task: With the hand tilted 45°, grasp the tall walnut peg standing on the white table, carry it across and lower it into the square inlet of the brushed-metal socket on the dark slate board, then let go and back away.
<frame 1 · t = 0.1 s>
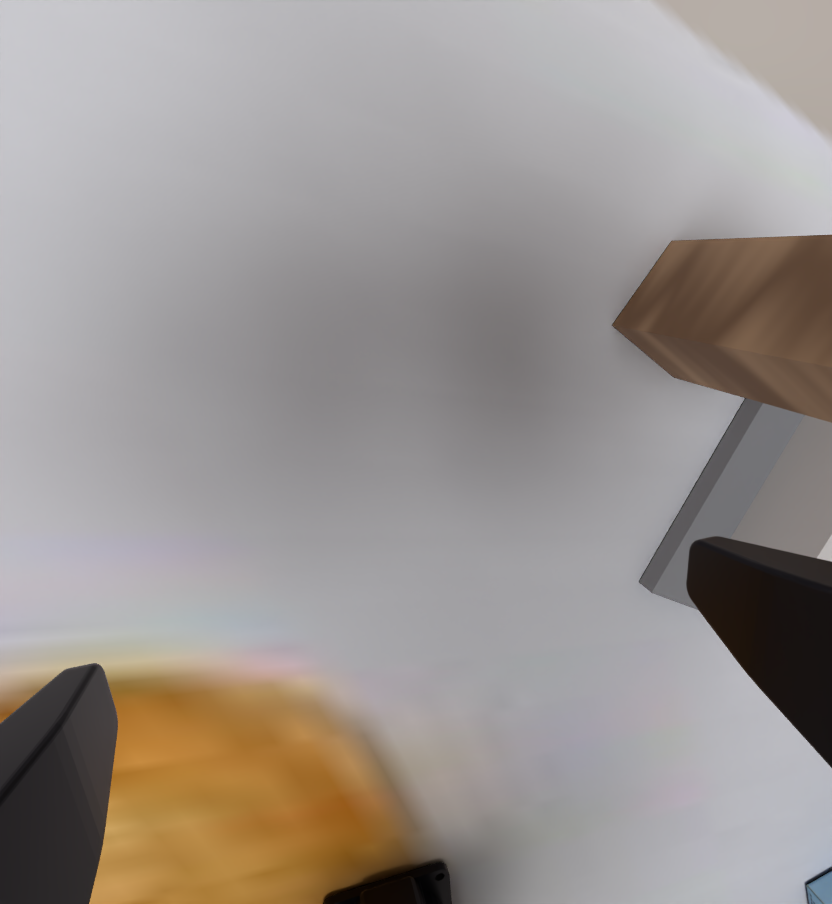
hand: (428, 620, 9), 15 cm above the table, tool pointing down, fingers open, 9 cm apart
walnut peg: (672, 311, 25), on the table
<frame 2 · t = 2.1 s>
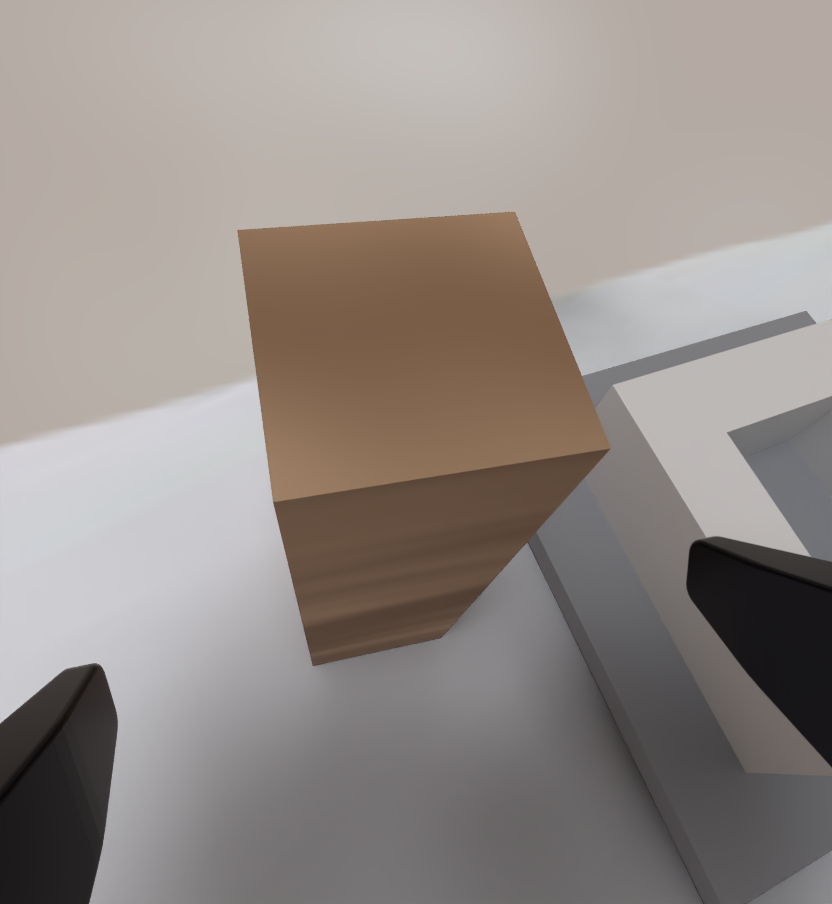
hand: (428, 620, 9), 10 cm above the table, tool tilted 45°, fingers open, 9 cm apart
socket board: (758, 546, 21), on the table
walnut peg: (366, 587, 19), on the table
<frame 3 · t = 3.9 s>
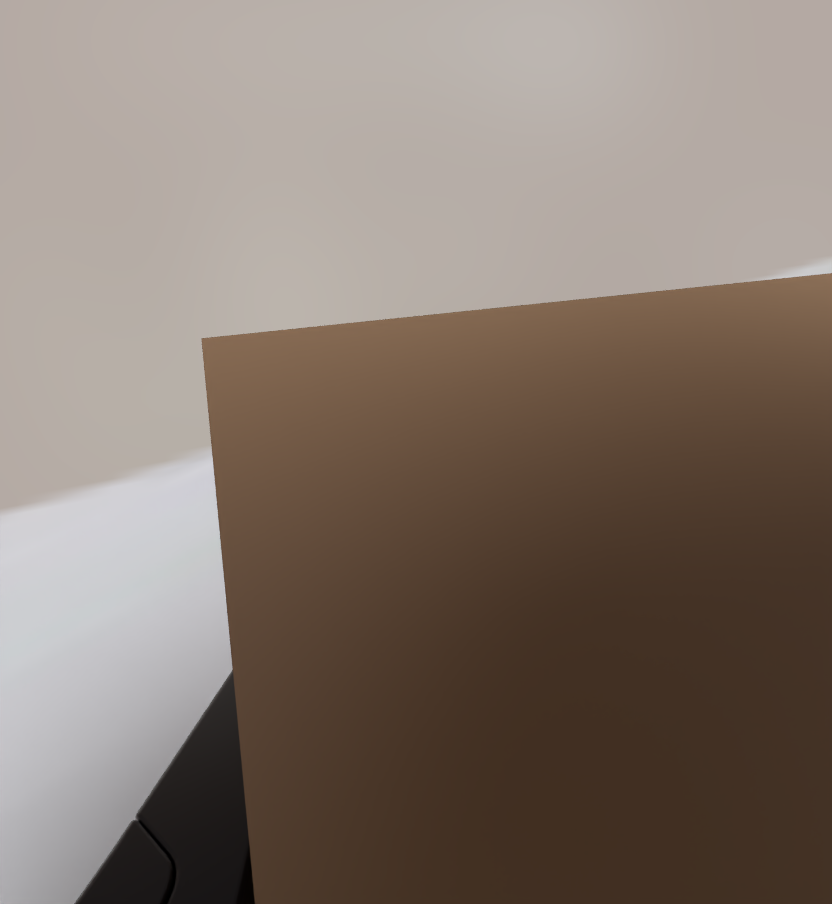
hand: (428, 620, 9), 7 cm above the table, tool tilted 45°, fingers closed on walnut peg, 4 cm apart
walnut peg: (402, 733, 14), on the table, touching gripper
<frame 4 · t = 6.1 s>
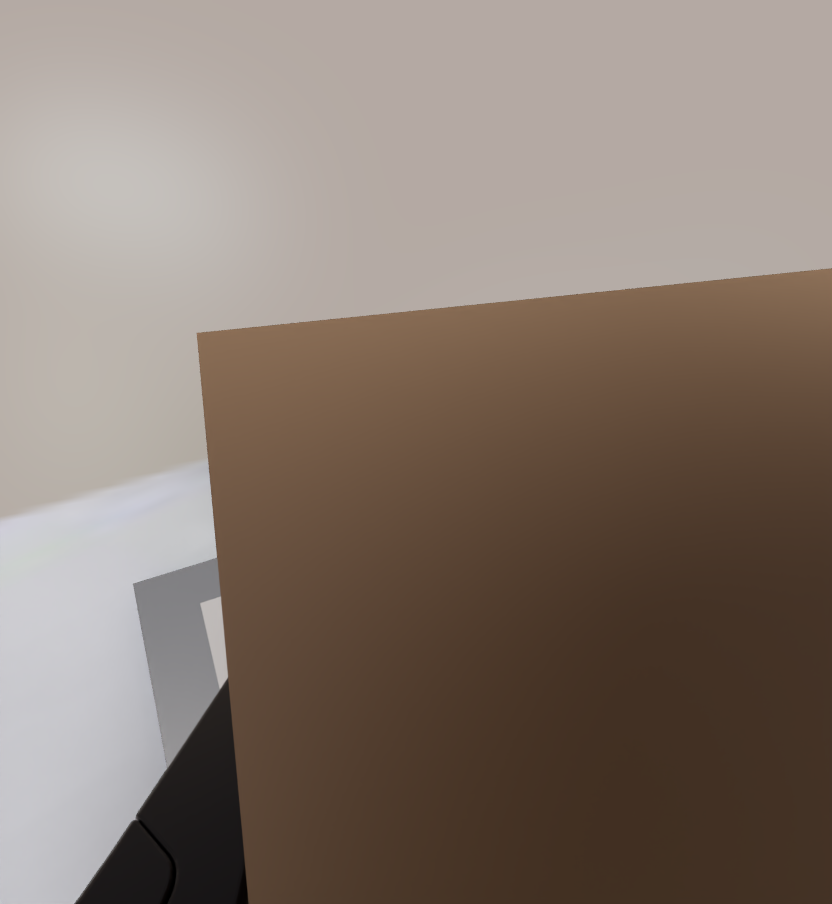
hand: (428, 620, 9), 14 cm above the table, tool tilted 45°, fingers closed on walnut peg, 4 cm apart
socket board: (425, 733, 21), on the table
walnut peg: (401, 731, 14), point 7 cm above the table, touching gripper
when the fingers open (8 cm above the table, at t = 8.4 s): walnut peg stays where it is, resting on socket board.
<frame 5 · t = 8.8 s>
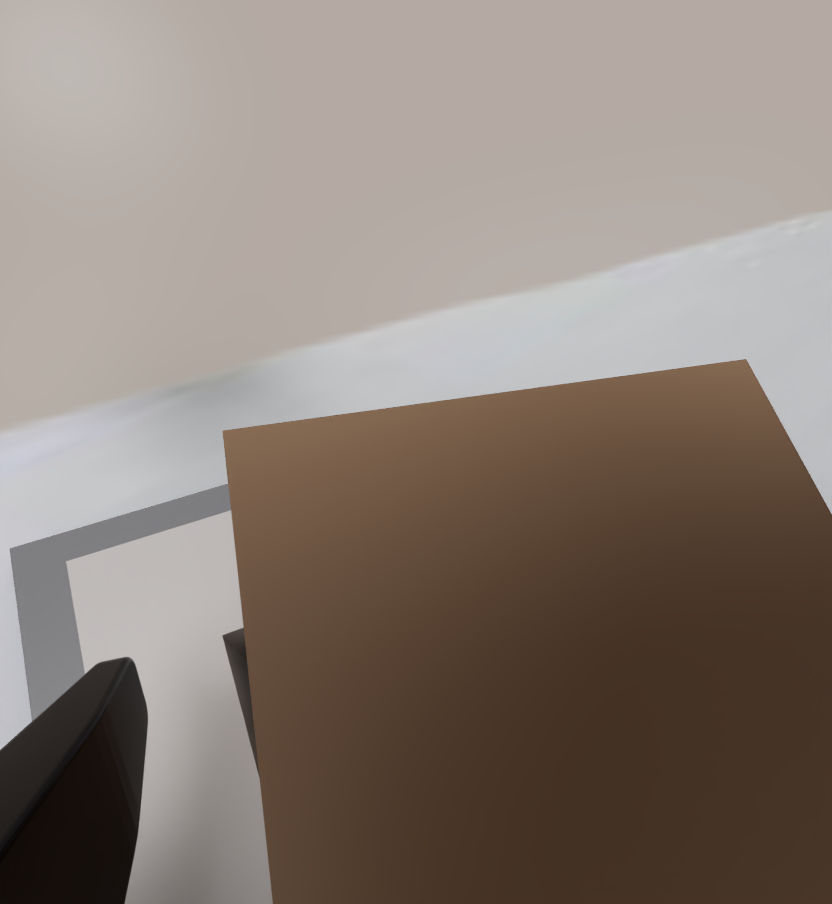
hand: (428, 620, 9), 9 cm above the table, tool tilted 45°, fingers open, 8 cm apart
socket board: (394, 734, 16), on the table
walnut peg: (396, 733, 15), point 1 cm above the table, touching socket board
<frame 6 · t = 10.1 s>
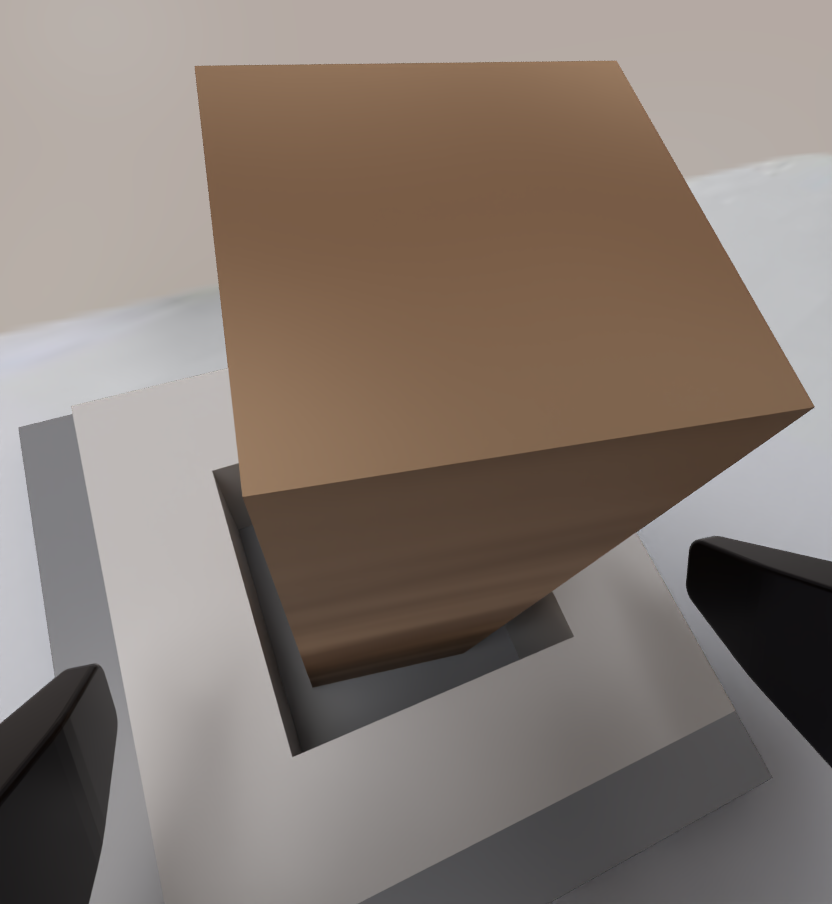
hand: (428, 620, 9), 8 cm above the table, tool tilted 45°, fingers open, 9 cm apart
socket board: (374, 601, 17), on the table
walnut peg: (375, 594, 16), point 1 cm above the table, touching socket board
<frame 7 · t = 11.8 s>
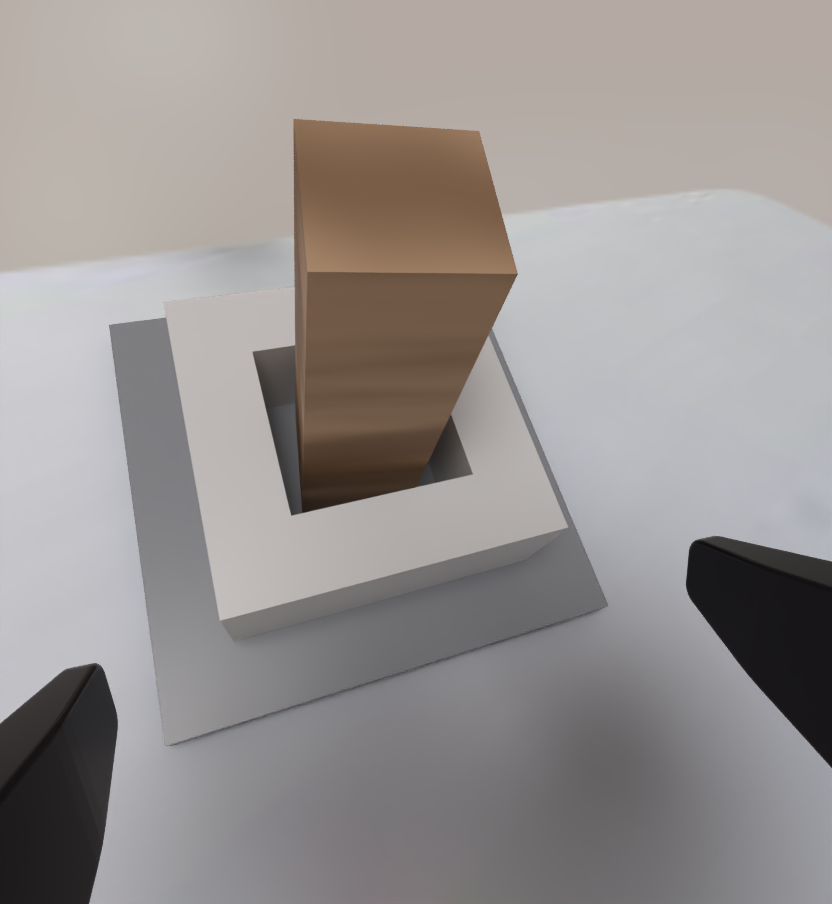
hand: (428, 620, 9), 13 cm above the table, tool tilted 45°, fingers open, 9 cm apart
socket board: (349, 471, 24), on the table
walnut peg: (350, 461, 23), point 1 cm above the table, touching socket board
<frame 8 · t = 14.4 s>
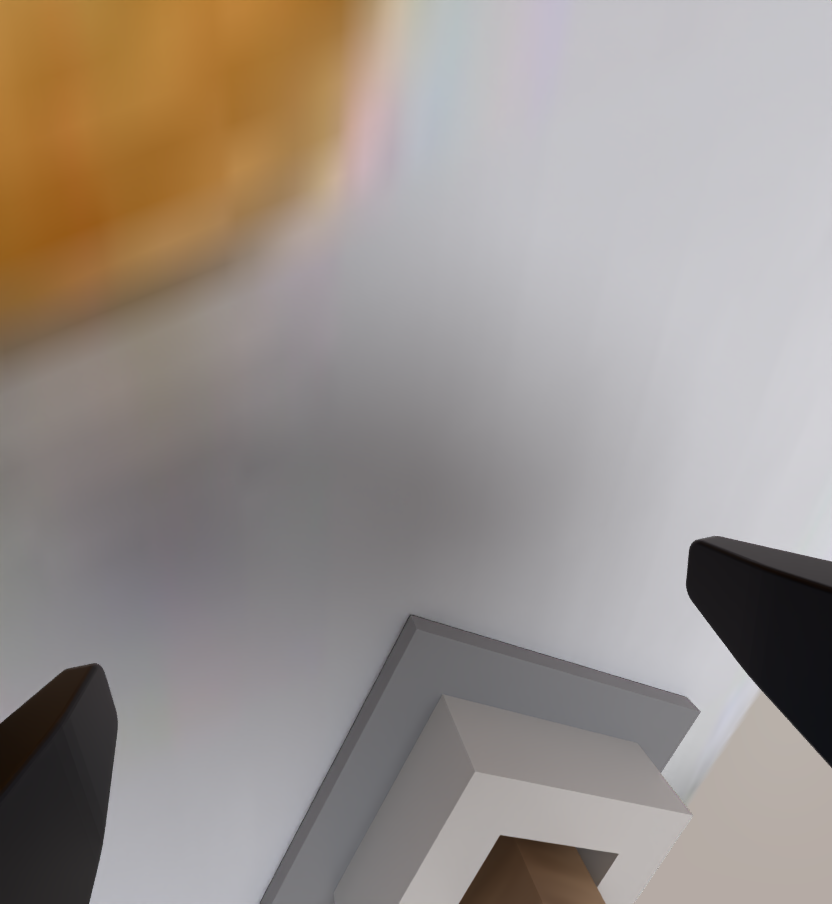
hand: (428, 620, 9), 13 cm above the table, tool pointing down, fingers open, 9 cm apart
socket board: (482, 797, 29), on the table
walnut peg: (491, 814, 28), point 1 cm above the table, touching socket board
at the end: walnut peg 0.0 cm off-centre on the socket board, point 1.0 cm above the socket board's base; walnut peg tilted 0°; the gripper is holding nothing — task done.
